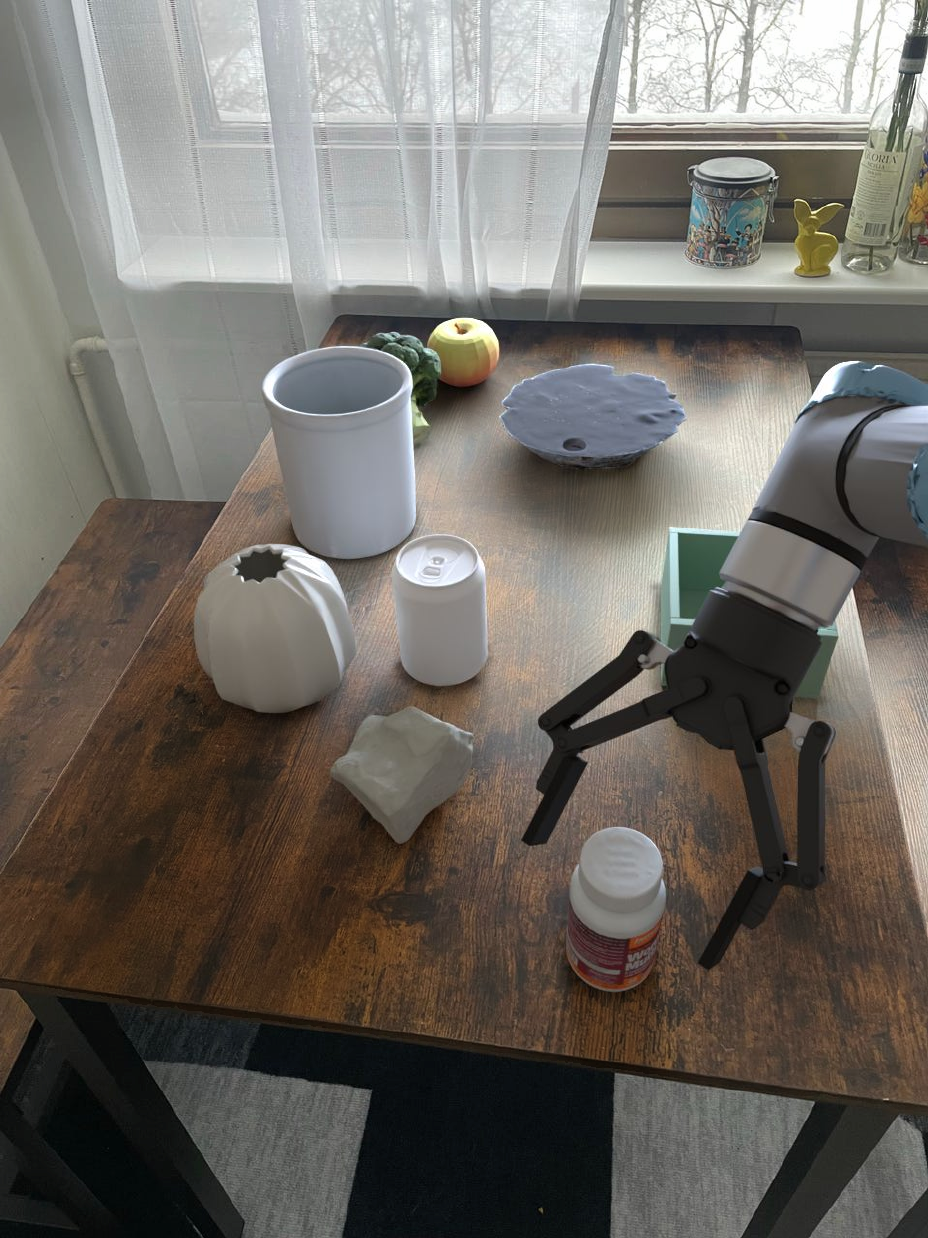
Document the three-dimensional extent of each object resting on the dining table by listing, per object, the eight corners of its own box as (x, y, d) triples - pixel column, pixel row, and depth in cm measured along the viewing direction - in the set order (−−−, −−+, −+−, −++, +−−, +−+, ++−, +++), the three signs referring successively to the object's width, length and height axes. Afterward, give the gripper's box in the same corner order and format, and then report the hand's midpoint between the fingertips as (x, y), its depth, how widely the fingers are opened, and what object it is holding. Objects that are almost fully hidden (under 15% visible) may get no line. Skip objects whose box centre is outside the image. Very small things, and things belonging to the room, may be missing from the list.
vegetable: (347, 451, 110) (312, 351, 114) (407, 478, 120) (374, 386, 125) (426, 395, 105) (386, 293, 109) (482, 429, 115) (444, 335, 120)
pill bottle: (637, 1010, 61) (654, 922, 54) (551, 971, 64) (556, 882, 56) (665, 932, 65) (685, 841, 58) (584, 899, 68) (592, 806, 60)
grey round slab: (593, 517, 102) (595, 478, 98) (463, 441, 114) (461, 404, 111) (717, 442, 112) (724, 404, 109) (585, 380, 125) (587, 344, 121)
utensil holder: (357, 469, 111) (338, 331, 99) (450, 514, 103) (442, 371, 91) (262, 528, 103) (229, 385, 91) (356, 581, 95) (333, 433, 83)
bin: (818, 699, 81) (838, 636, 76) (660, 685, 83) (670, 623, 78) (801, 597, 91) (818, 536, 86) (660, 587, 93) (669, 526, 88)
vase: (365, 720, 81) (347, 607, 72) (206, 741, 80) (166, 629, 71) (356, 616, 91) (339, 505, 82) (215, 634, 90) (181, 523, 81)
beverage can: (498, 638, 88) (496, 538, 80) (473, 698, 83) (468, 598, 74) (418, 623, 90) (408, 524, 82) (388, 681, 85) (375, 581, 76)
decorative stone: (374, 706, 80) (432, 660, 73) (446, 781, 81) (511, 742, 73) (296, 790, 73) (353, 747, 65) (377, 871, 73) (442, 838, 66)
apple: (414, 376, 127) (409, 320, 122) (470, 354, 131) (468, 299, 126) (457, 403, 121) (454, 346, 116) (514, 379, 125) (514, 323, 120)
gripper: (975, 705, 55) (805, 1008, 57) (623, 544, 67) (495, 797, 70) (973, 696, 48) (782, 1038, 51) (584, 520, 61) (445, 800, 63)
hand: (616, 899), depth 60 cm, fingers open, 13 cm apart
